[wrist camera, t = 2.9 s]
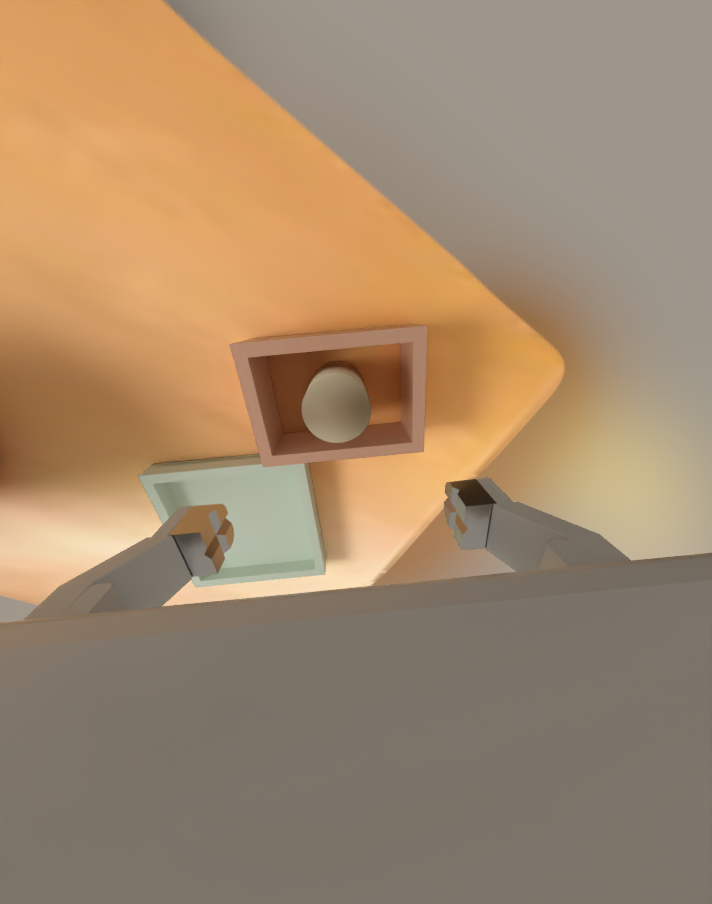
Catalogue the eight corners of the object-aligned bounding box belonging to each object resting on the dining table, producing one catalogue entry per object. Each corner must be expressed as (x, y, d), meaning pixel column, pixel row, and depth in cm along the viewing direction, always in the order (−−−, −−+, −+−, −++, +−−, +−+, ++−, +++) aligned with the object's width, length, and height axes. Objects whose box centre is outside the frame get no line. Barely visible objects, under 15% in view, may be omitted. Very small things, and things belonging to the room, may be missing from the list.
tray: (153, 463, 29) (137, 476, 26) (306, 449, 29) (303, 460, 26) (203, 571, 36) (195, 587, 34) (326, 558, 36) (325, 574, 34)
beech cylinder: (307, 363, 25) (295, 379, 19) (361, 358, 25) (368, 372, 19) (315, 416, 27) (307, 445, 21) (365, 411, 27) (373, 439, 21)
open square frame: (250, 338, 24) (229, 344, 19) (411, 323, 24) (427, 325, 19) (275, 443, 28) (263, 467, 24) (410, 430, 28) (423, 451, 24)
